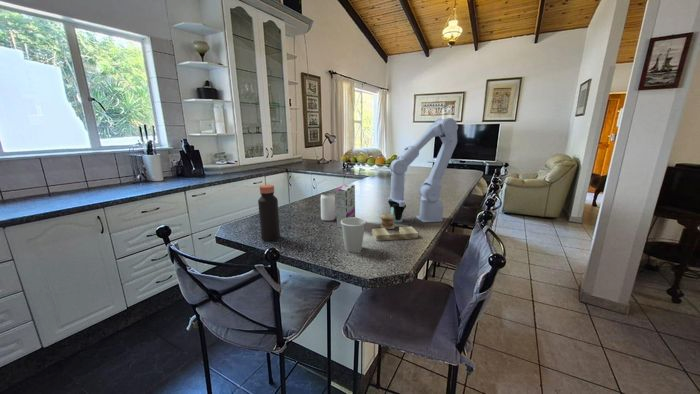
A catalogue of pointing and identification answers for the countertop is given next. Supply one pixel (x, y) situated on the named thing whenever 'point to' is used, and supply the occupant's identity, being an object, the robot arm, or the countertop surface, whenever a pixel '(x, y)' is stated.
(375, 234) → the notch board
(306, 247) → the countertop surface
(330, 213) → the can
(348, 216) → the candy bar box
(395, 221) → the pale teal block
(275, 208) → the bottle
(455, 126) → the robot arm
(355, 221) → the dixie cup
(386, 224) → the spool
